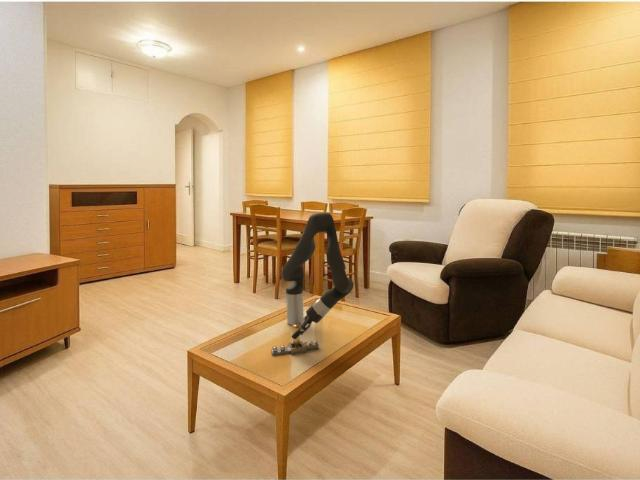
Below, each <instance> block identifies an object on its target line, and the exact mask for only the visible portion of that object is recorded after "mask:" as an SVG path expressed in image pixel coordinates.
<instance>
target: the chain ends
mask: <svg viewBox="0 0 640 480" xmlns="http://www.w3.org/2000/svg"><path fill="white" fill-rule="evenodd" d="M286 346H287V347H286ZM286 346H285V345H284V344H283V345H282V344H281V345H280V347H279V348H278V347H277V345H276V346H272V349H270V352H271V356H272V357H274V356H278V355H286V354H290V355H291V356H292V355H299V354H304V353H305V354H306V353H307V351H314V350H319V349H320V347H319V346H320V345H319V340H313V341H311V340H309V341H306V342H303V341H301V340H300V347H296V348H293V341H291V342H287V343H286Z"/></svg>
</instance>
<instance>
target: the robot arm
mask: <svg viewBox="0 0 640 480" xmlns="http://www.w3.org/2000/svg"><path fill="white" fill-rule="evenodd" d="M320 233H326V235H327V239H328V240H327V241H328V242H327V247H326V253H325V254H326V261H327V263H328V267H329V269H330V273H331V279H332V283H333V287H332V288H331V289H328V290H327V291H325V292H324V293H323V294H322V295H321V296H320V297H319V298H318V299H316V300H315V301H314V302H313V303H312V304H311V305H310V306H309V307H308V308H307V309H306V311H305V313H304V294H303V292H304V291H303V290H304V279H305V278H304V275H305V273H304V268H303V264H305V263H306V262H308V261H309V260H310V259H311V257H312V256H313V254H314V253H315V250H316V242H315V240H314V238H315V236H316V235H318V234H320ZM346 268H347V266H346V264H345V261H344V258H343V255H342V252H341V248H340V245H339V240H338V235H337V229H336V224H335V220H334V217H333V215H332V214H331V213H330V212H316V213H312V214H311V215H309V218H308V220H307V222H306V225H305V228H304V230H303V233H302V234H301V236H300V239H299V240H298V242H297V244H296V246H295V247H294V250H293V252H292V254H291V255H290V257H289V258H288V260H287V261H286V262H285V264H284V266H283V267H282V270H281V277H282V279H283V281H285V282H292V283H291V284H290V285H288V286H287V287H286V289H285V297H286V322H287V324H288V325H289V324H290V326H292V325H293V324H299V329H298V330H297V331H296V332H295V333H294V334H293V333H292V335H291V339H292V340H293V339H296V338H297V337H298V336H299V335H300V336H302V335H304V333H305V332H306V331H308V329H309V328H310V327H311V325H312V324H313V322H314V324H318V323H319V322H321V320H323V318H324V317H325V316H326V315H327V314H328V313H329V312H330V311H331V310H332V308H334V307H335V305H336V304H337V303H338V302H339V301H341V300H342V299H344V298H345V297H347V296H348V295H349V294H350V293H351V292H352V290H353V289H354V281H353V280H352V279H351V278H350V277H348V275H347V273H346ZM304 314H306V315H305V316H304Z"/></svg>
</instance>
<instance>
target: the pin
mask: <svg viewBox="0 0 640 480" xmlns="http://www.w3.org/2000/svg"><path fill="white" fill-rule="evenodd" d="M291 326H292V327H291V329H292V330H291V331H292V335H293V334H294V333H295V332H296V331H297V330H298V329H299V324H293V325H291ZM300 341H301V334H300V335H299V336H298V337H297V338H296V339H293V338H292V342H293V348H296V347H300Z"/></svg>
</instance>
